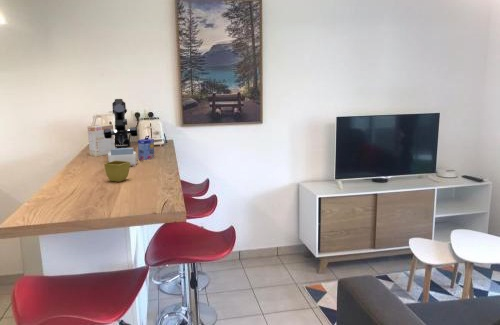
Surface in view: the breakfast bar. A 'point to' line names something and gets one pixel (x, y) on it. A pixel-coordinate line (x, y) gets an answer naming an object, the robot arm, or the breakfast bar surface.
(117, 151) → the flap
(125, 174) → the flower pot
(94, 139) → the coffeecake box
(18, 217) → the breakfast bar surface
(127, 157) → the carton
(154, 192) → the breakfast bar surface
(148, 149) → the ink cartridge box
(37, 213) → the breakfast bar surface
